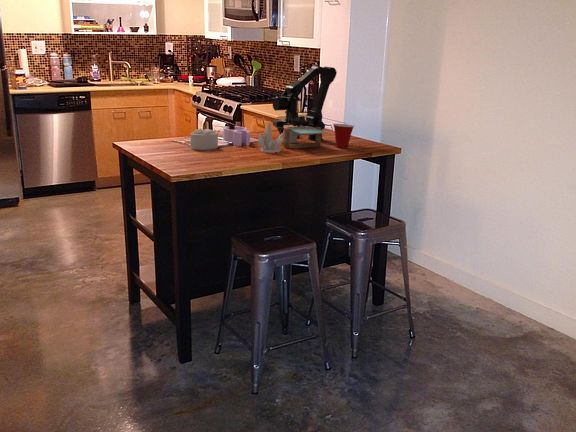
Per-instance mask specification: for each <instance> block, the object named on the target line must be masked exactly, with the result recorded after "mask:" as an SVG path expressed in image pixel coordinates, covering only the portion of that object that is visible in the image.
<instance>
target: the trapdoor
mask: <svg viewBox="0 0 576 432" xmlns="http://www.w3.org/2000/svg"><path fill="white" fill-rule="evenodd" d="M286 129H291V131H290V135H291V136H295V135H300V136H309V135H314V134H317V133H322V134H327V131H324V130H323V129H322V130H319V129H316V128H314V127H311V126H302V127H297V126H287V127H286Z"/></svg>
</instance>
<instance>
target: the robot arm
mask: <svg viewBox="0 0 576 432" xmlns="http://www.w3.org/2000/svg"><path fill="white" fill-rule="evenodd" d="M337 73H338V72H337V70H336V68H335V67H331V66H320V65H313V66H311V68H310V69H309V70H308V71H307V72H305V73H304V74H302V76H301V77H299V78H298V79H297V80H295V81H292V82H291V83H290V84H287V85H286V86H285V87H284V91H283V92H282V94H281V95H280V97H279V96H275V99H274V100H273V102H272V108H273V110H274V111H284V113H285V118H284V121H283V120H281V119H274V120H273V121H272V126H273V127H275V128H276V129H277V131H278V132H279V136H280V135H281V134H282V133H283V138H284V130H285V126H292V127H302V126H311V127H314V128H316V127H320V128H322V129H321V130H322V131H323V130H325V128H326V124H325V123H324V122H323V120H322V119H323V113H322V112H323V111H322V110H323V107H324V104H325V101H326V97H327V94H328V91H329V87H330V86H331V84H332V83H333V82H334V80H335V79H336V77H337ZM318 75H319V81H320V84H319V87H318V90H317V94H316V95H315V96H316V97H315V100H314V103H313V106H312V108H311V110H309V109H307V112H306V115H300V116H299V112H298V102H301V101H302V99H301V98H300V97H299V95H301V93H302V92H303V90H304V87H306V86H307V85H308V84H309V83H310V82H311V81H312V80H314V78H316V77H317V76H318ZM300 138H301V135H297V140H299V139H300ZM307 139H308V140H311V141H315V140H316V134H314V135H308V137H307ZM323 140H324V138H323V133H321V141H323Z"/></svg>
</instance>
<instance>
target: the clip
mask: <svg viewBox="0 0 576 432" xmlns="http://www.w3.org/2000/svg"><path fill="white" fill-rule="evenodd" d="M222 130H223V131H222V134H223V135H222V141H223V140H225V141H229V142H232V143H233V144H232V143H231V144H232V145H233V146H236V147H242V145H243V144H244V145H245V146H246V147H248V146H251V131H250V130H248V128H247V127H243V126H238V125H234V129H230V126H226V125H224V126H223V128H222Z"/></svg>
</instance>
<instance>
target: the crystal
mask: <svg viewBox="0 0 576 432" xmlns="http://www.w3.org/2000/svg"><path fill="white" fill-rule="evenodd" d="M259 133H260V134H259V137H258V138H257V141H258V142H257V143H258V145H259V146H261V148H260V151H261V152H263V153H268V154H269V153H270V154H274V153H275V152H277V153H281V152H282V149H281V148H279V147H280V146H281V145H282V143H284V137H283V135H284V132H283V133H282V134H281V135H280V134H279V136H278V137H276V139H275V140H273V136H272V135H273V133H272V123H271V120H269V121H268V123H267V125H266V127H265V129H264V131H263V134H262V133H261V132H259ZM280 151H281V152H280ZM275 154H276V153H275Z"/></svg>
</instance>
